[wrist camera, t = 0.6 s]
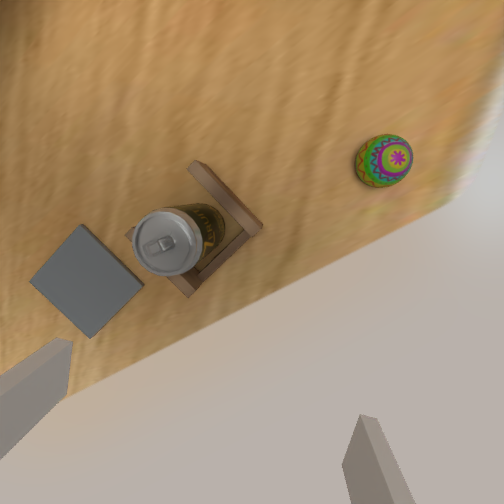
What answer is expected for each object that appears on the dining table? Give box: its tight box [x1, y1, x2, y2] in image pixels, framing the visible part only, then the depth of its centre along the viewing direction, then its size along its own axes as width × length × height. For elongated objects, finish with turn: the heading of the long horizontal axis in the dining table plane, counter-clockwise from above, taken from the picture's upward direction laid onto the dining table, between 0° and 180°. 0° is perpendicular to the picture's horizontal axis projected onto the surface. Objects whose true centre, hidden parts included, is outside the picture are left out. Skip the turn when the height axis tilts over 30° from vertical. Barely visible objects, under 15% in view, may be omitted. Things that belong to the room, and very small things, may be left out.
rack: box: [125, 160, 263, 298], centre depth 32 cm, size 9×10×4 cm
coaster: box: [29, 224, 144, 339], centre depth 36 cm, size 10×10×1 cm
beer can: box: [132, 203, 225, 276], centre depth 29 cm, size 5×5×12 cm
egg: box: [355, 134, 413, 188], centre depth 29 cm, size 5×5×6 cm
